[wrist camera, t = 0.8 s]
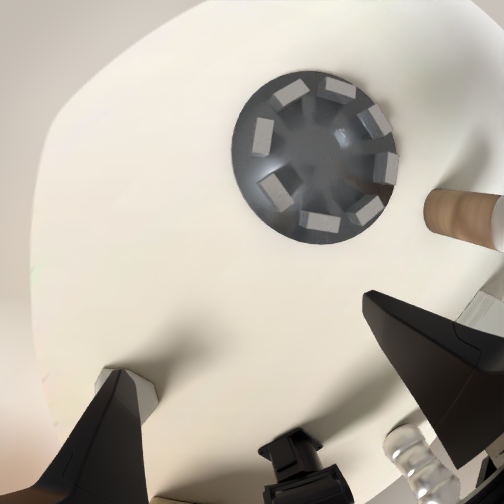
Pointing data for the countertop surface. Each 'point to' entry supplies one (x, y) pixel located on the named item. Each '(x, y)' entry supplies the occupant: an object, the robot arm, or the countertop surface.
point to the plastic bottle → (421, 467)
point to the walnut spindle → (467, 216)
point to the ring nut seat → (314, 157)
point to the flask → (144, 392)
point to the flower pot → (165, 501)
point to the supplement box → (484, 314)
